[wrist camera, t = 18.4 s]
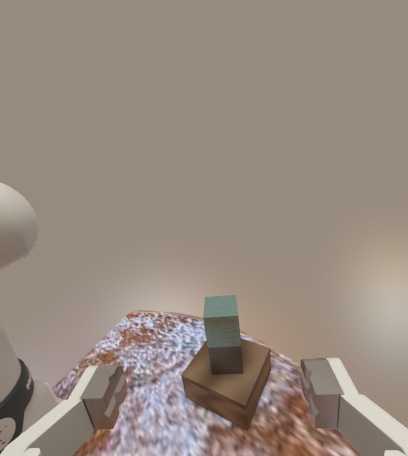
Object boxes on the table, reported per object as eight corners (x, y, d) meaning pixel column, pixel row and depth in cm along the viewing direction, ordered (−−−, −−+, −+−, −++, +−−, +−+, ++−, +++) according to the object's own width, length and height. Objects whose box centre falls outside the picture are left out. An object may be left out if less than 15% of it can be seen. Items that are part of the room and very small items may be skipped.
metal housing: (211, 374, 39) (203, 317, 35) (212, 349, 44) (205, 297, 40) (243, 373, 38) (238, 315, 35) (240, 348, 43) (235, 295, 40)
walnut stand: (185, 397, 41) (181, 374, 39) (217, 349, 50) (214, 329, 48) (247, 430, 35) (245, 406, 34) (270, 369, 44) (269, 348, 42)
